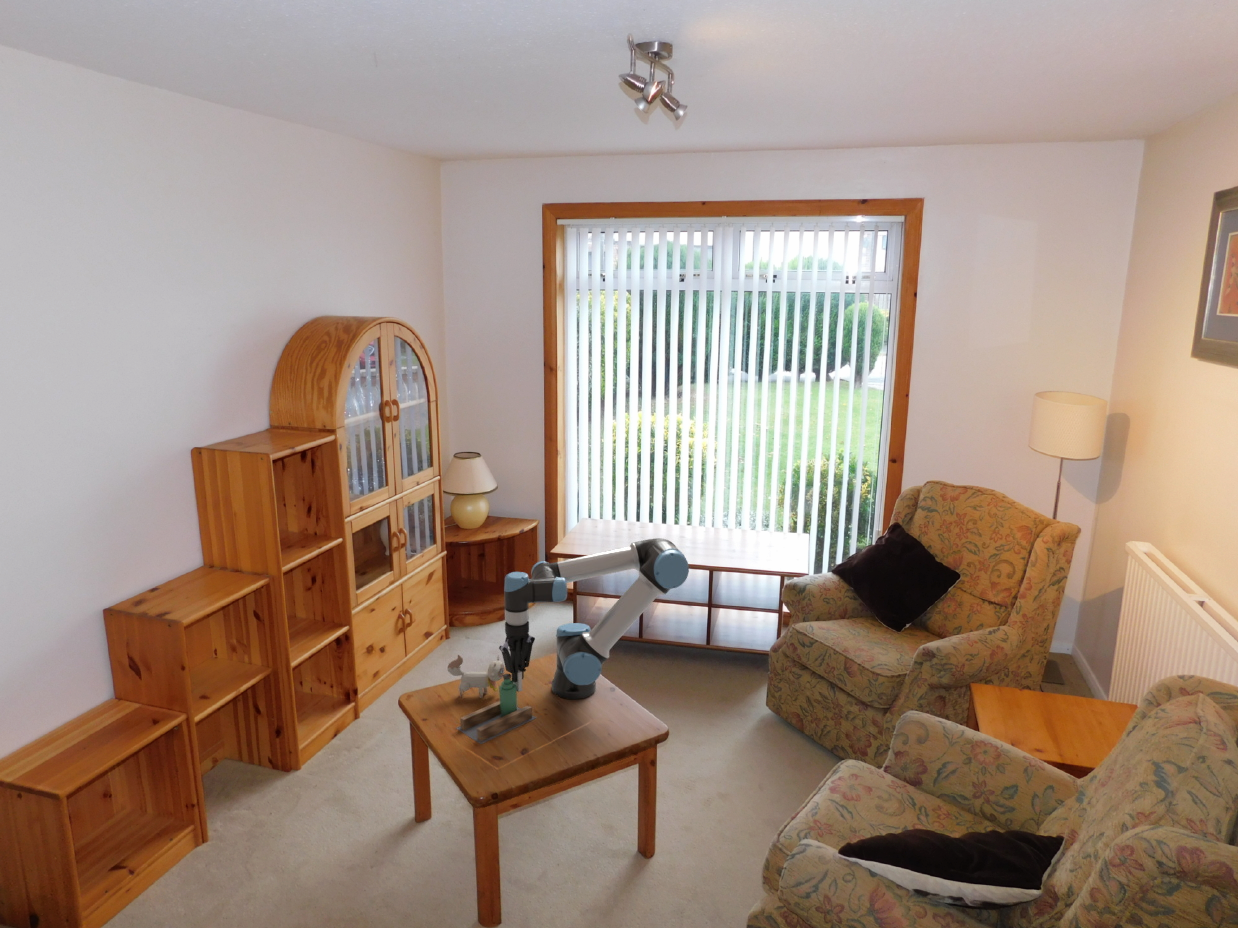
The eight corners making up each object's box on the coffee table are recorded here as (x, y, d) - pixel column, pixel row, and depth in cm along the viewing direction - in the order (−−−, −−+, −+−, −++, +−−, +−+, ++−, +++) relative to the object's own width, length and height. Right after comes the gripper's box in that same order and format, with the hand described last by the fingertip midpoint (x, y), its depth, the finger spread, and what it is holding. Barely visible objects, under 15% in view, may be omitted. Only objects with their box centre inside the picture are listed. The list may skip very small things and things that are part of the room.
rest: (511, 705, 272) (511, 695, 272) (532, 717, 265) (531, 707, 264) (460, 728, 258) (460, 717, 258) (481, 741, 251) (480, 730, 250)
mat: (511, 704, 274) (511, 703, 274) (536, 718, 265) (536, 717, 265) (455, 729, 259) (455, 727, 259) (480, 745, 250) (480, 744, 250)
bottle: (510, 710, 269) (508, 669, 265) (521, 716, 265) (519, 675, 262) (497, 716, 265) (494, 675, 262) (507, 723, 262) (505, 681, 258)
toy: (502, 703, 275) (501, 661, 271) (445, 702, 275) (443, 660, 272) (506, 690, 283) (505, 649, 280) (451, 689, 284) (449, 648, 280)
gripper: (525, 612, 268) (526, 679, 273) (493, 623, 259) (494, 692, 264) (540, 618, 263) (540, 687, 268) (507, 630, 254) (509, 700, 259)
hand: (517, 689), depth 266 cm, fingers closed
